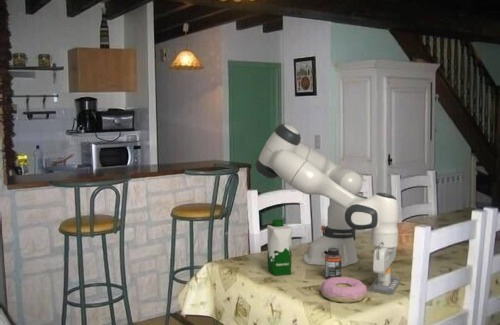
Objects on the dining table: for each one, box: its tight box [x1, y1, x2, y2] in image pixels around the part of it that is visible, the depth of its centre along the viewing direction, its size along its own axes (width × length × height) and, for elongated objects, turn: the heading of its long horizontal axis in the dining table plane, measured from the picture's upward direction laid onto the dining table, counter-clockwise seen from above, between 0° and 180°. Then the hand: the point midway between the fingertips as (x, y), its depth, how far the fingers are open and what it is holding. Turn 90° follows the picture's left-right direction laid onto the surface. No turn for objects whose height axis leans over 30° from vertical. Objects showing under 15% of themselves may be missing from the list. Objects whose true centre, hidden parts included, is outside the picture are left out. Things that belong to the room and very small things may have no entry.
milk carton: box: [266, 218, 293, 277], centre depth 195 cm, size 9×9×20 cm
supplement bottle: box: [324, 248, 342, 280], centre depth 188 cm, size 6×6×11 cm
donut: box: [320, 276, 368, 304], centre depth 170 cm, size 16×15×5 cm
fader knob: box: [377, 267, 392, 286], centre depth 177 cm, size 4×4×5 cm
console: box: [368, 275, 401, 295], centre depth 179 cm, size 14×8×2 cm, turn 153°
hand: (384, 278), depth 177 cm, fingers closed on fader knob, 4 cm apart
